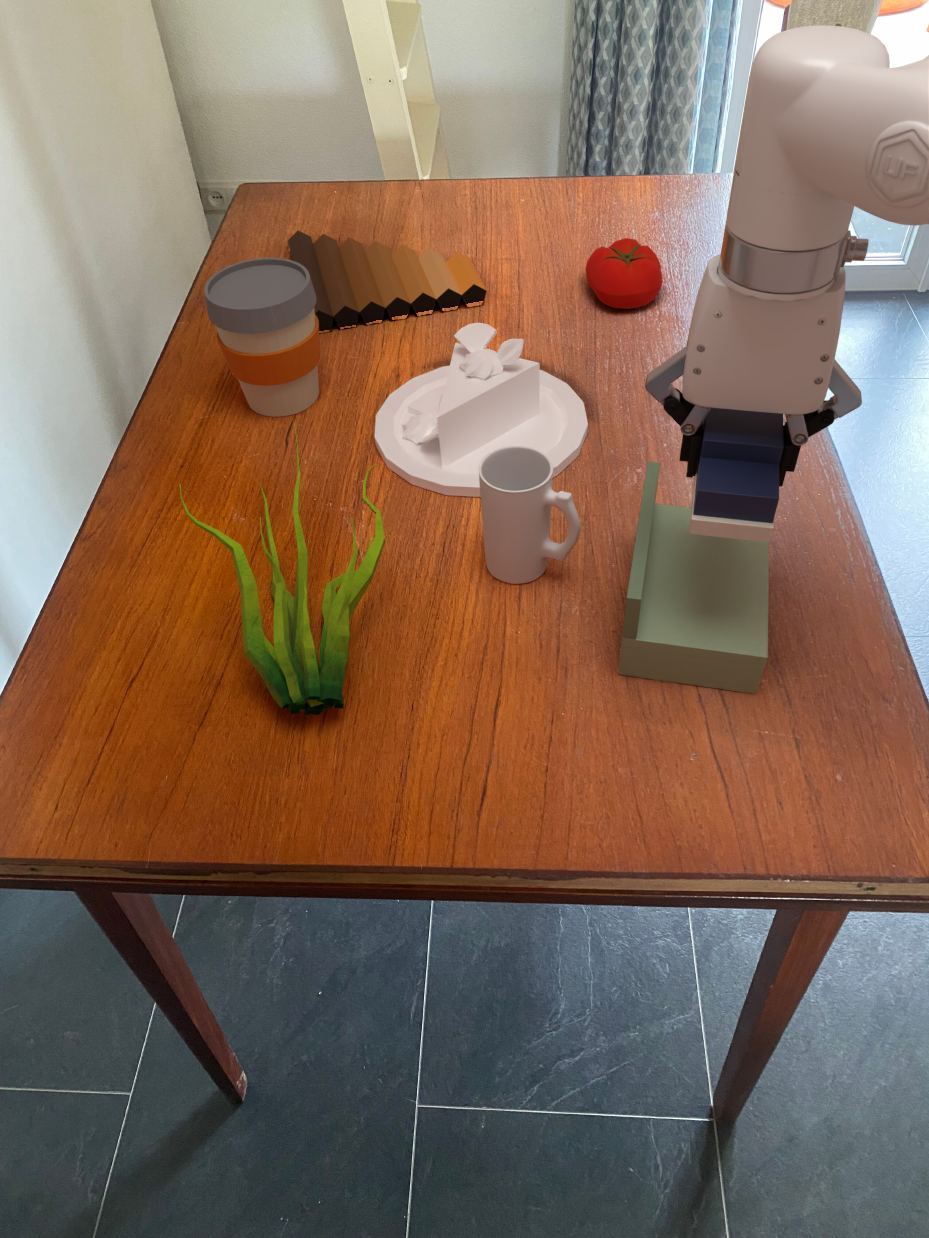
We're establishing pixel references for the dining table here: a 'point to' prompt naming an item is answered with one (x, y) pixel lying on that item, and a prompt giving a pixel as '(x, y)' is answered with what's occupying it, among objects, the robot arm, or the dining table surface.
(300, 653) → the decorative plant
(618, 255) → the tomato
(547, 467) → the mug
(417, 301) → the pan flute
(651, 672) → the sage stepped base
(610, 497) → the dining table surface
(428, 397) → the dish
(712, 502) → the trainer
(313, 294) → the reusable coffee cup
